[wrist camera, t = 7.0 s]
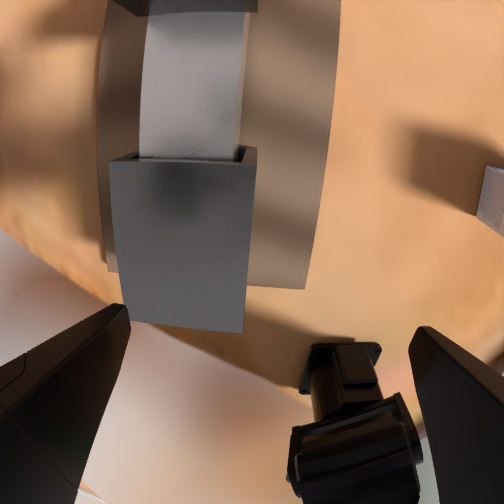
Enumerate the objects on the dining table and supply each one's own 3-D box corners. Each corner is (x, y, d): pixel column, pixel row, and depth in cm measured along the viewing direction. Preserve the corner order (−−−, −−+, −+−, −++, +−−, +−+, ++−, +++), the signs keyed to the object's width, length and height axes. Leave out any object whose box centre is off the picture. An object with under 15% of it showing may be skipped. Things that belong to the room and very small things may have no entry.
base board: (302, 281, 21) (304, 289, 20) (113, 264, 21) (108, 271, 20) (338, -31, 12) (341, -37, 11) (122, -31, 11) (116, -36, 10)
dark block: (245, 185, 16) (228, 283, 7) (157, 180, 16) (56, 264, 7) (265, -44, 10) (271, -158, 1) (177, -42, 10) (110, -137, 1)
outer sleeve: (246, 272, 20) (242, 333, 15) (157, 264, 20) (126, 319, 14) (257, 148, 16) (256, 166, 11) (154, 143, 16) (108, 161, 11)
